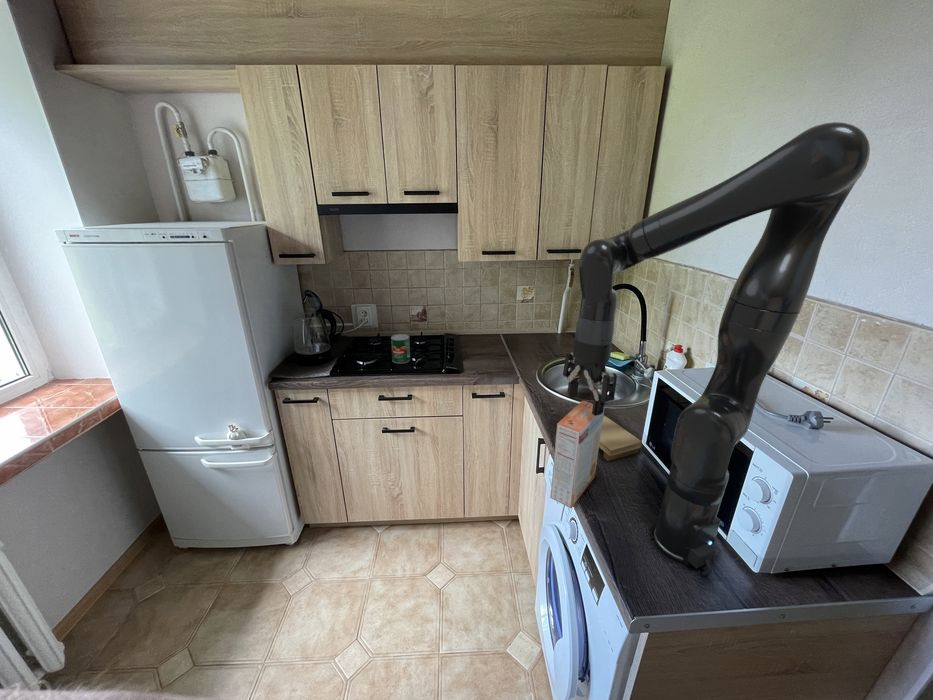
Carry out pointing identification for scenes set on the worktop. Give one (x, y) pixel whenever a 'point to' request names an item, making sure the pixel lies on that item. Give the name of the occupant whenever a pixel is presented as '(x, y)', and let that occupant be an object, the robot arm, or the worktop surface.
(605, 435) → the tan wooden slab
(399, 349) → the canned tomato
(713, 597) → the worktop surface
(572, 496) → the cracker box
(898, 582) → the worktop surface
